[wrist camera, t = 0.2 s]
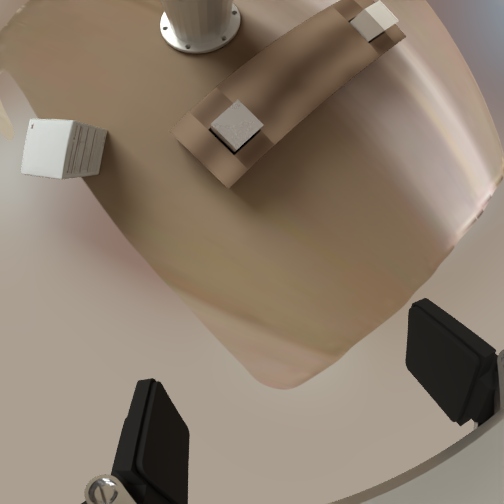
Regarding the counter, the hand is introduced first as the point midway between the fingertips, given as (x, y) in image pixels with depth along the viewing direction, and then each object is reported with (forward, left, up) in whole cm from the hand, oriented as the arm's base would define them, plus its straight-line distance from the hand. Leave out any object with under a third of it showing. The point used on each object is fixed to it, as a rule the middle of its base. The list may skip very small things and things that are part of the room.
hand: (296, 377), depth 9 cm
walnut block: (-9, +22, -36) cm, 44 cm away
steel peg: (-9, +8, -31) cm, 34 cm away
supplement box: (-25, -9, -37) cm, 45 cm away
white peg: (-9, +36, -31) cm, 49 cm away
